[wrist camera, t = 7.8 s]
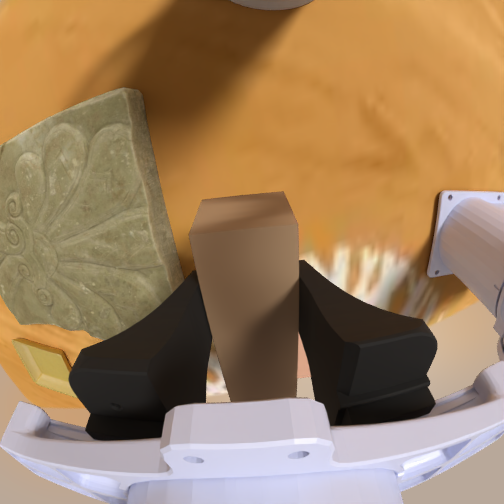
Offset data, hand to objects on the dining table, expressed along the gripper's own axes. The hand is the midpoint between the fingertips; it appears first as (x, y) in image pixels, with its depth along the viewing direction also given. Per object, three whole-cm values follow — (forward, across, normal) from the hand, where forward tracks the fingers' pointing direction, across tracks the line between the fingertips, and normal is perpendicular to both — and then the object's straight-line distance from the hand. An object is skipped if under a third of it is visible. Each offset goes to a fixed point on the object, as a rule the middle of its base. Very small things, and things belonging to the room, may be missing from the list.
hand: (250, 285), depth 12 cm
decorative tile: (+9, +16, 0) cm, 18 cm away
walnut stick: (+2, 0, +2) cm, 3 cm away
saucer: (+9, +26, +16) cm, 32 cm away
